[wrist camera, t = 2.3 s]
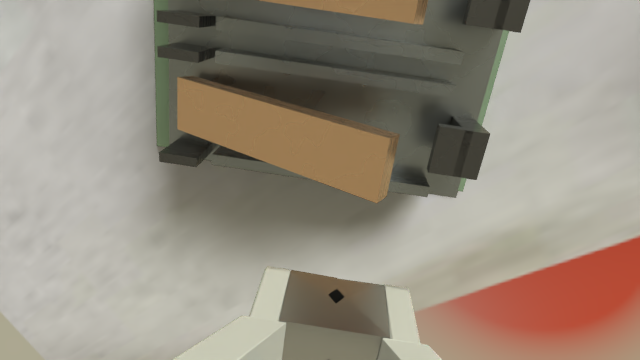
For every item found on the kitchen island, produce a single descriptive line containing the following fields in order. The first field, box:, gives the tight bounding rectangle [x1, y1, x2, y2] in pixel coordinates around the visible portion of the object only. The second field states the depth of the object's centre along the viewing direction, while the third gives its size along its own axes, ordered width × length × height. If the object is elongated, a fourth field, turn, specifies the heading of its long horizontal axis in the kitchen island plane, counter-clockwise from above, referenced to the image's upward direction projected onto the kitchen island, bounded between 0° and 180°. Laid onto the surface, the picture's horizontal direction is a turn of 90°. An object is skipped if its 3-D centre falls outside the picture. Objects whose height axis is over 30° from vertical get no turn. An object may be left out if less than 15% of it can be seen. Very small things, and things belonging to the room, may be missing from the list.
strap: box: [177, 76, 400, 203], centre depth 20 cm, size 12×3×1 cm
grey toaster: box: [157, 0, 530, 198], centre depth 23 cm, size 17×14×8 cm
